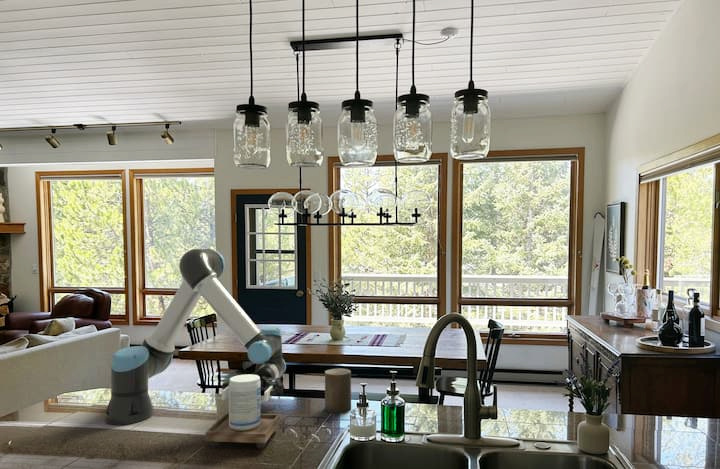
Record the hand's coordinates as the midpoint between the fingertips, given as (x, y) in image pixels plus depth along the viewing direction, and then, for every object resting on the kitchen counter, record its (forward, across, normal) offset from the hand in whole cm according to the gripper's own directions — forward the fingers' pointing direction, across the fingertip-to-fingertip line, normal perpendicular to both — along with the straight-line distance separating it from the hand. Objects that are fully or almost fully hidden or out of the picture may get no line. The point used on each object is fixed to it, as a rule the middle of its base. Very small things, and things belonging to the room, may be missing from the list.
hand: (243, 396), depth 140 cm
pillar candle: (-30, -25, -14) cm, 41 cm away
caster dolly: (-1, 0, -14) cm, 14 cm away
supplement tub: (-1, 0, -10) cm, 10 cm away
